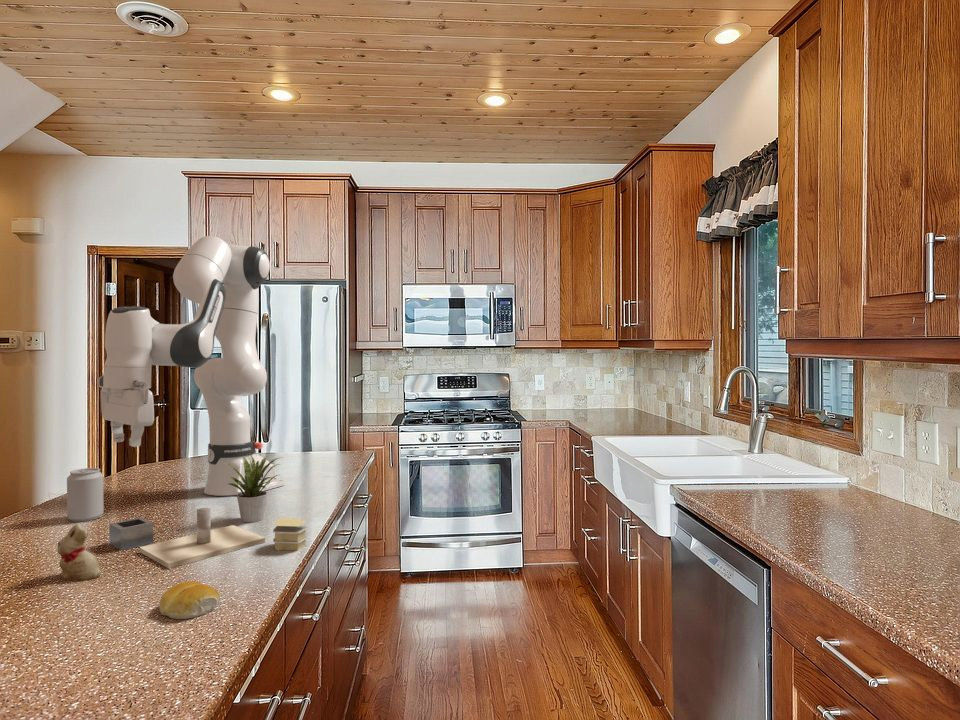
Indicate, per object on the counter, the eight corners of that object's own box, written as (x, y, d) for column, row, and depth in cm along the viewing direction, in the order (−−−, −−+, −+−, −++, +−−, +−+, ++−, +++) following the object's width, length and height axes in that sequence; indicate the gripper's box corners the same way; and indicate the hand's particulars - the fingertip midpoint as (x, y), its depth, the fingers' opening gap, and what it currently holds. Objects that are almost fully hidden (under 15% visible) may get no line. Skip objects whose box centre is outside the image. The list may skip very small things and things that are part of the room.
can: (85, 523, 141) (85, 473, 141) (59, 521, 142) (58, 472, 142) (111, 514, 148) (110, 467, 148) (85, 513, 150) (85, 466, 150)
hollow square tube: (141, 536, 131) (141, 517, 131) (153, 543, 127) (153, 522, 127) (109, 544, 126) (109, 523, 126) (120, 550, 122) (120, 529, 122)
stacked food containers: (320, 542, 129) (320, 517, 129) (300, 556, 120) (300, 530, 120) (279, 539, 131) (278, 514, 131) (255, 553, 122) (255, 526, 122)
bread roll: (196, 593, 102) (195, 570, 102) (227, 606, 97) (227, 582, 97) (147, 611, 95) (147, 587, 95) (178, 626, 90) (178, 600, 90)
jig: (232, 529, 137) (232, 495, 137) (265, 542, 128) (264, 505, 128) (139, 552, 122) (139, 513, 121) (168, 568, 113) (168, 527, 112)
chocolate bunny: (89, 566, 114) (89, 514, 114) (104, 576, 109) (104, 522, 109) (55, 574, 110) (54, 521, 109) (69, 585, 105) (68, 529, 104)
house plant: (300, 515, 148) (300, 450, 148) (258, 531, 136) (258, 460, 135) (257, 508, 154) (257, 446, 154) (213, 523, 142) (213, 455, 141)
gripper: (163, 381, 124) (161, 447, 124) (126, 378, 137) (125, 438, 137) (130, 382, 119) (128, 450, 119) (95, 378, 132) (94, 440, 132)
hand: (126, 444), depth 128 cm, fingers open, 8 cm apart
